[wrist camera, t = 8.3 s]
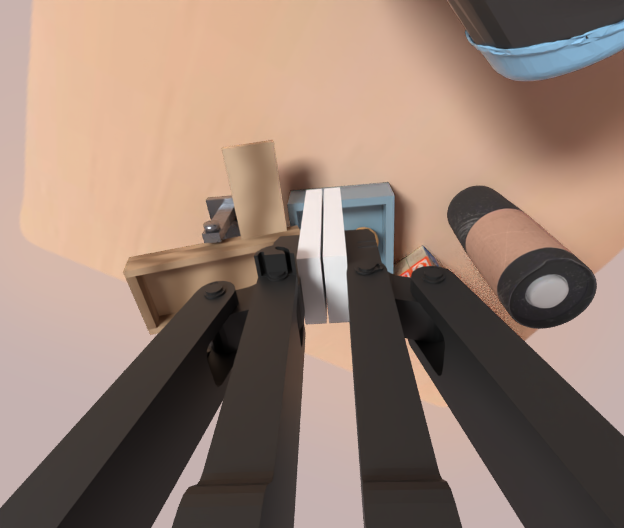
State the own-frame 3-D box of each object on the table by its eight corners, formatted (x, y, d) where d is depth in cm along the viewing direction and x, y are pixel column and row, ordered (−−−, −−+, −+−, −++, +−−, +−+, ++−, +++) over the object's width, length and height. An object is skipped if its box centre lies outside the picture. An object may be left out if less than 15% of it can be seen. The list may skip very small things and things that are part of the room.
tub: (302, 277, 56) (300, 296, 52) (290, 190, 49) (287, 204, 45) (387, 271, 55) (392, 290, 51) (388, 182, 48) (394, 195, 43)
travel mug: (470, 245, 52) (540, 342, 35) (432, 214, 50) (488, 302, 33) (515, 205, 49) (617, 291, 32) (477, 171, 47) (565, 243, 29)
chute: (157, 304, 49) (150, 334, 44) (100, 160, 39) (81, 176, 34) (300, 274, 52) (311, 299, 47) (281, 133, 42) (291, 143, 37)
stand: (229, 282, 57) (212, 324, 48) (207, 197, 50) (183, 229, 41) (267, 279, 56) (256, 321, 48) (250, 194, 49) (234, 224, 41)
